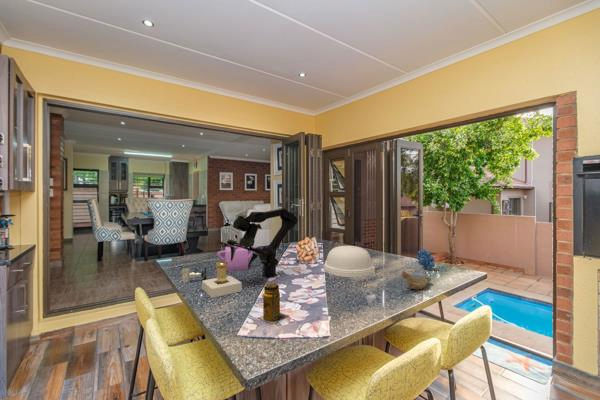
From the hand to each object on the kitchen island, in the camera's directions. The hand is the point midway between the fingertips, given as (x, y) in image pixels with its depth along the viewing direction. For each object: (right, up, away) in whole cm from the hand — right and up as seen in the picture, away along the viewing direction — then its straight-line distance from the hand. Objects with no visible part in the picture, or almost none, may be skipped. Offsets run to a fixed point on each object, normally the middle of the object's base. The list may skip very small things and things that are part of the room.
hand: (239, 263), depth 138 cm
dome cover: (+60, -10, +26) cm, 66 cm away
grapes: (+106, -10, +26) cm, 109 cm away
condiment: (+21, -11, -38) cm, 45 cm away
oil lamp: (+88, -10, -6) cm, 88 cm away
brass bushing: (-6, -10, -10) cm, 15 cm away
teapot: (-8, -10, +31) cm, 34 cm away
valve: (-25, -10, +4) cm, 27 cm away
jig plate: (-6, -10, -10) cm, 15 cm away
